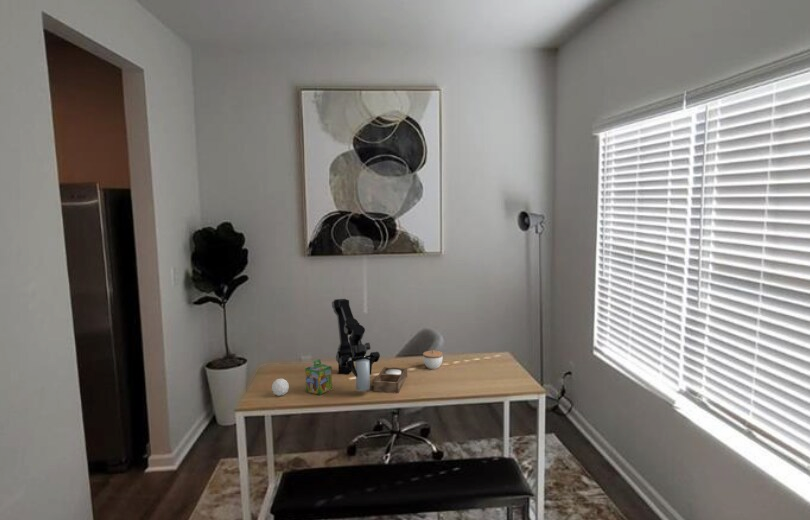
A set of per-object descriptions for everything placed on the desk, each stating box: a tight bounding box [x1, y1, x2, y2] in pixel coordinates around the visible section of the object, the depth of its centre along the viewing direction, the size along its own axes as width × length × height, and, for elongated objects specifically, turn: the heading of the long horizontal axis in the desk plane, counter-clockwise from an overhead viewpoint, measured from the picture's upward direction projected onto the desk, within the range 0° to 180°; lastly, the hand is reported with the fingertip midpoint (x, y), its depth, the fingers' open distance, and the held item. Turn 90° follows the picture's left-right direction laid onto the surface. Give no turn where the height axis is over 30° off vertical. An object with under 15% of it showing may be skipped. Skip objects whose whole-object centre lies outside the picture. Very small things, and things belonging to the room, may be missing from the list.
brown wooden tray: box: [373, 366, 408, 394], centre depth 234 cm, size 12×22×5 cm, turn 169°
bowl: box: [386, 369, 401, 375], centre depth 240 cm, size 8×8×3 cm
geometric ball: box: [271, 378, 290, 397], centre depth 222 cm, size 8×8×8 cm
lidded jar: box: [422, 349, 444, 370], centre depth 258 cm, size 11×11×9 cm
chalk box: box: [305, 358, 333, 396], centre depth 226 cm, size 9×9×15 cm
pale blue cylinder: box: [355, 359, 371, 392], centre depth 221 cm, size 6×6×13 cm
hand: (363, 375), depth 220 cm, fingers closed on pale blue cylinder, 6 cm apart
